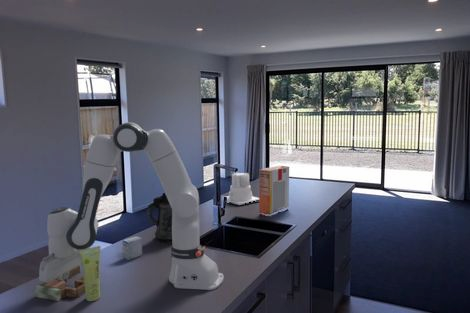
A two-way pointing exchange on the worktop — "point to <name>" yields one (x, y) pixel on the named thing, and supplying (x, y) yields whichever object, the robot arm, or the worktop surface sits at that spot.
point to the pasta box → (274, 189)
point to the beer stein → (162, 219)
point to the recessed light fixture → (240, 189)
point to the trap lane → (66, 291)
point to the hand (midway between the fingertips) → (63, 283)
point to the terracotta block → (56, 284)
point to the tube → (91, 272)
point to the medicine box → (132, 247)
